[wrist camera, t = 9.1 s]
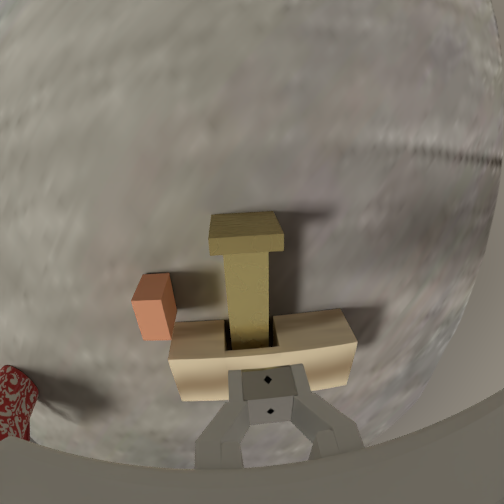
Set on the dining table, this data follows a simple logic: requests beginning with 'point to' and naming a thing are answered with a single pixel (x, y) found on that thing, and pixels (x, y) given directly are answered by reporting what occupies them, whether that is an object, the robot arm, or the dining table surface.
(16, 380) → the mug
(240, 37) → the dining table surface
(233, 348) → the pin
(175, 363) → the block
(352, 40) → the dining table surface
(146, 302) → the orange block
